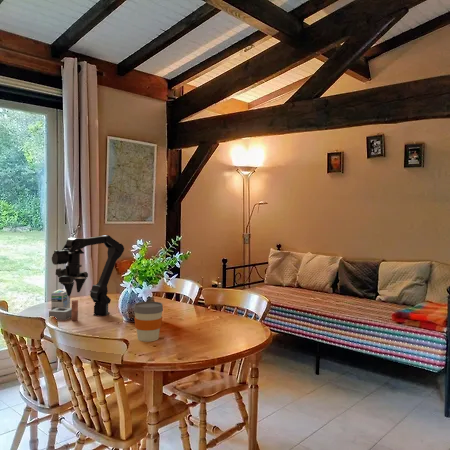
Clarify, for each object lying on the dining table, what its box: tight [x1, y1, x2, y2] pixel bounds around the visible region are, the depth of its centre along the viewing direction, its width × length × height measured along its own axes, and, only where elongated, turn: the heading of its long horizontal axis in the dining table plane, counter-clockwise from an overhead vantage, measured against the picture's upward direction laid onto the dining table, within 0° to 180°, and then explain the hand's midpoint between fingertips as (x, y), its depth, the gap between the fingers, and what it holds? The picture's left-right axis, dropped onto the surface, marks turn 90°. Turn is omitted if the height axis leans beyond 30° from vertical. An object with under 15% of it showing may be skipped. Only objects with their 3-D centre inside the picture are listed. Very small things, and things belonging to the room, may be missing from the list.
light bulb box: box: [50, 288, 71, 310], centre depth 238 cm, size 11×7×11 cm, turn 179°
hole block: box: [48, 307, 72, 321], centre depth 223 cm, size 9×9×4 cm
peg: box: [71, 299, 79, 322], centre depth 218 cm, size 3×3×10 cm
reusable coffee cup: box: [133, 301, 164, 343], centre depth 190 cm, size 13×13×15 cm
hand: (73, 294), depth 218 cm, fingers open, 9 cm apart
